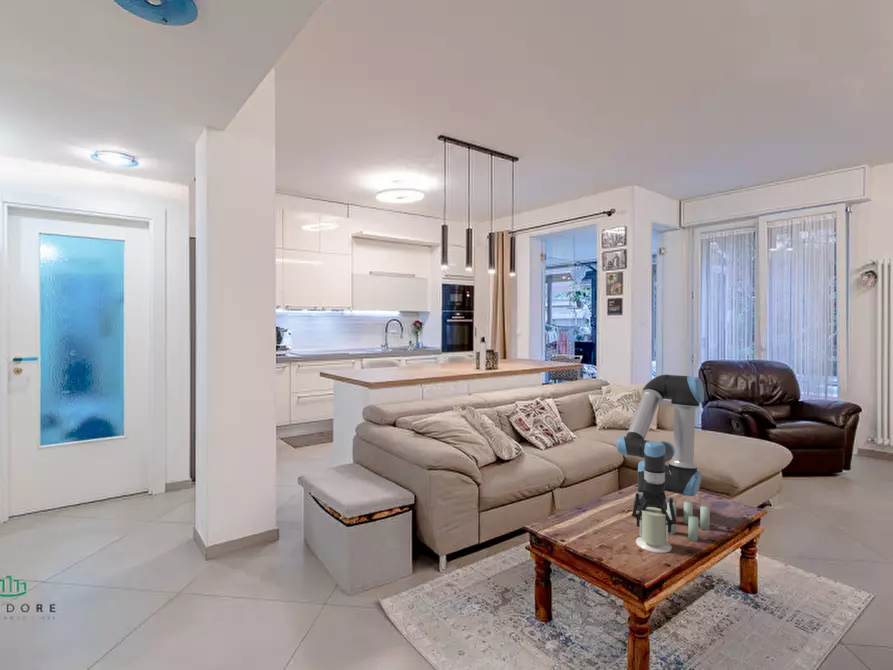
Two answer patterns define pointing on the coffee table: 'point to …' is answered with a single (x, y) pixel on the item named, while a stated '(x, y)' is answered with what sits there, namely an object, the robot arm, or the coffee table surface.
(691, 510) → the posts
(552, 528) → the coffee table surface
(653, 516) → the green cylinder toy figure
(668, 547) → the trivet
